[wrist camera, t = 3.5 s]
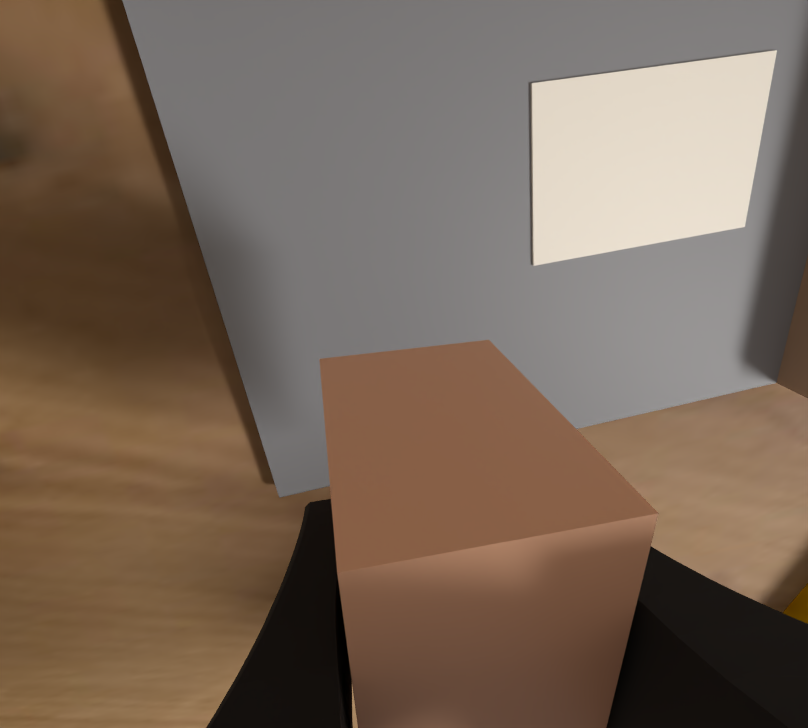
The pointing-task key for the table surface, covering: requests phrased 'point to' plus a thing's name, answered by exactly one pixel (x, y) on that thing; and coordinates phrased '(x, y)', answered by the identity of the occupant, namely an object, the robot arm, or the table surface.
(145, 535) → the table surface
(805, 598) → the element tile
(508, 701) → the block
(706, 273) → the arena
